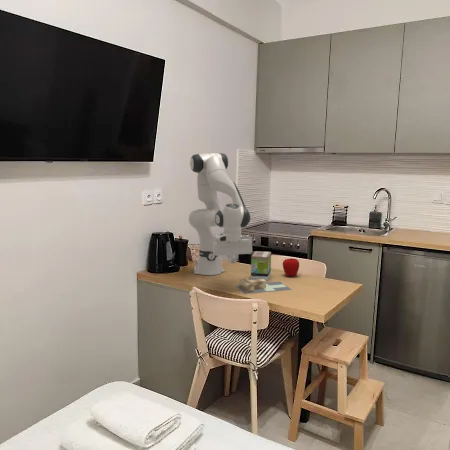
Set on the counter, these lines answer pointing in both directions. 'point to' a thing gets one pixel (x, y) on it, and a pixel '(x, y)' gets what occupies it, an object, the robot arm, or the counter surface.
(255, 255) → the tea box
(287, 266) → the apple
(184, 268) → the counter surface
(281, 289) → the mat
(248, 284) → the tee
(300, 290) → the counter surface
